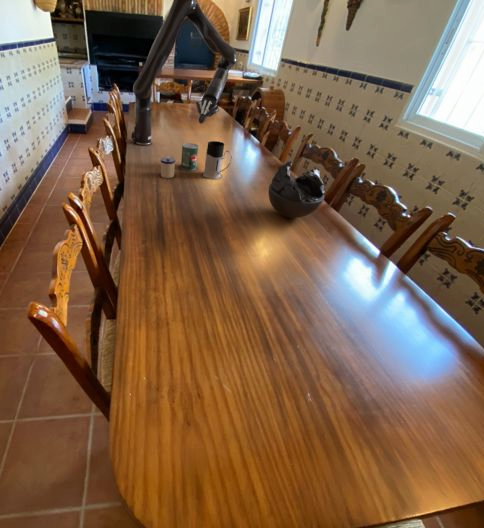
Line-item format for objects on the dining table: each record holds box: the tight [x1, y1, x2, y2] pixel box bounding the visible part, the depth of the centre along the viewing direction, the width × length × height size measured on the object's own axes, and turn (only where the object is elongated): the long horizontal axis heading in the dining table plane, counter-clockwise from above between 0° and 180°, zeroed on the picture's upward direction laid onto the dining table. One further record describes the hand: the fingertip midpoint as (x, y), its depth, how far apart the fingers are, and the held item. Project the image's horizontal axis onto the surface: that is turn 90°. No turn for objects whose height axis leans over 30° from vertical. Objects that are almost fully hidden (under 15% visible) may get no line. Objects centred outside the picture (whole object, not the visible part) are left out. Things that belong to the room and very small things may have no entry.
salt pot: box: [160, 155, 176, 179], centre depth 139 cm, size 7×7×9 cm
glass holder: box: [202, 140, 233, 180], centre depth 138 cm, size 9×14×15 cm, turn 44°
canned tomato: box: [180, 142, 199, 172], centre depth 147 cm, size 8×8×11 cm
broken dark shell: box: [267, 161, 325, 219], centre depth 111 cm, size 20×20×19 cm
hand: (200, 122), depth 149 cm, fingers closed
